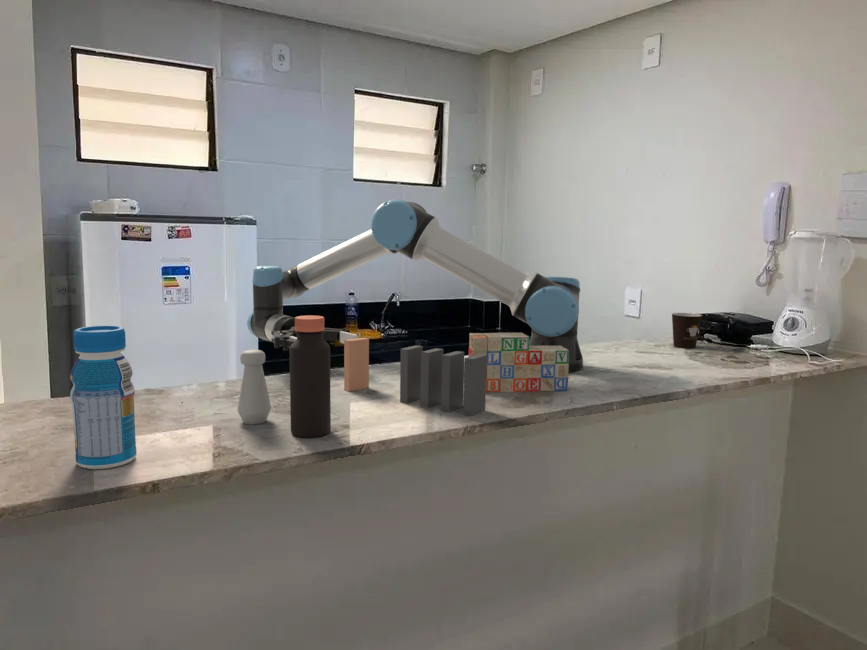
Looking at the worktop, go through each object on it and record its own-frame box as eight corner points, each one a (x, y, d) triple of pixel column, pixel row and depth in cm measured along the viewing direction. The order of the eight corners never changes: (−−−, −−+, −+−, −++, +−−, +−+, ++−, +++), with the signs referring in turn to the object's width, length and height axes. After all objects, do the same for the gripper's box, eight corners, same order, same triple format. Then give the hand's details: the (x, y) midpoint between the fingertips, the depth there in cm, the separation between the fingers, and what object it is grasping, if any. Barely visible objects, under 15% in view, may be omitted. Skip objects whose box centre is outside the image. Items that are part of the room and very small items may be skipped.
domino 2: (420, 406, 133) (421, 351, 131) (435, 400, 137) (436, 348, 135) (427, 407, 132) (428, 352, 130) (442, 402, 136) (443, 349, 134)
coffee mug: (672, 348, 202) (674, 315, 200) (667, 343, 210) (669, 312, 209) (713, 350, 200) (715, 317, 198) (706, 345, 208) (708, 313, 207)
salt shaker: (260, 414, 125) (259, 346, 123) (277, 421, 121) (275, 351, 119) (231, 420, 121) (229, 350, 119) (247, 427, 117) (246, 355, 115)
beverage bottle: (88, 475, 94) (80, 335, 91) (65, 461, 99) (56, 328, 96) (147, 460, 100) (141, 328, 97) (123, 447, 105) (116, 322, 102)
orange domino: (344, 389, 145) (344, 339, 143) (364, 386, 148) (364, 337, 146) (348, 391, 143) (348, 341, 142) (368, 388, 147) (368, 338, 145)
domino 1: (400, 402, 135) (400, 348, 134) (415, 397, 140) (415, 345, 138) (407, 403, 134) (407, 349, 133) (422, 398, 139) (422, 346, 137)
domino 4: (463, 414, 127) (464, 358, 125) (477, 408, 131) (478, 354, 130) (471, 416, 126) (472, 359, 124) (485, 410, 130) (486, 355, 129)
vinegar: (296, 426, 118) (294, 314, 115) (334, 427, 118) (333, 315, 115) (286, 438, 111) (284, 319, 109) (326, 439, 111) (325, 320, 108)
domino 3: (441, 410, 130) (442, 354, 128) (455, 404, 134) (456, 351, 132) (448, 411, 129) (450, 356, 127) (463, 406, 133) (464, 352, 131)
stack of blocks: (559, 385, 153) (562, 332, 151) (567, 391, 147) (570, 336, 145) (467, 385, 151) (468, 332, 149) (471, 392, 145) (473, 336, 143)
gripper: (328, 341, 176) (375, 354, 160) (239, 350, 160) (282, 366, 144) (328, 312, 175) (376, 323, 159) (239, 319, 159) (281, 331, 143)
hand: (331, 343), depth 152 cm, fingers open, 13 cm apart
